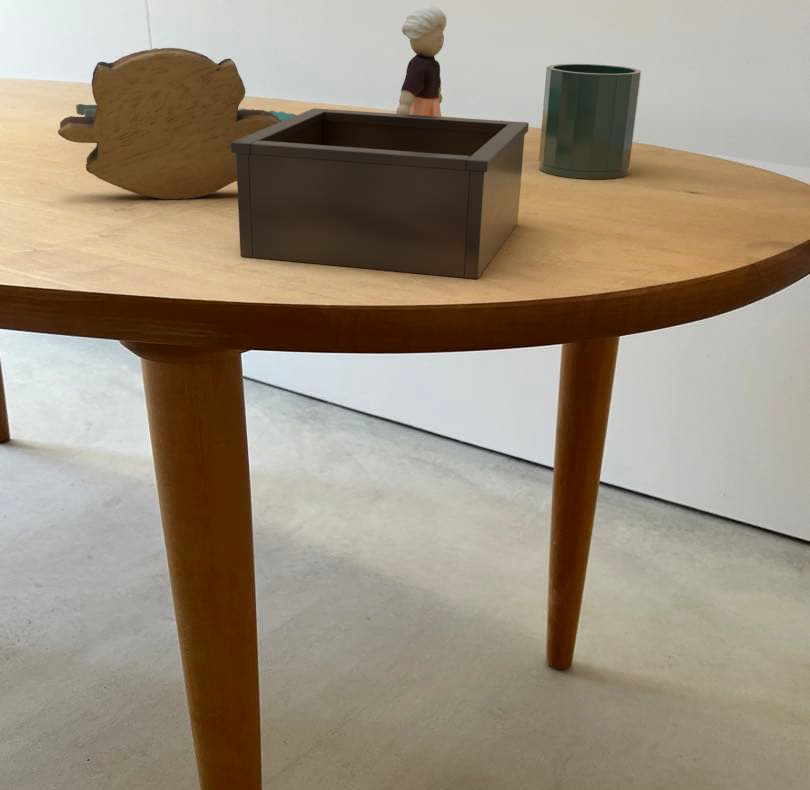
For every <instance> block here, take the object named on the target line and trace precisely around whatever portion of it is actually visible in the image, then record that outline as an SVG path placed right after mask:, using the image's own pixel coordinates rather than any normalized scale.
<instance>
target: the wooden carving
mask: <svg viewBox="0 0 810 790" xmlns="http://www.w3.org/2000/svg"><path fill="white" fill-rule="evenodd" d="M91 92H92V96H93V100H94V102H95V105H97V108H96V111H95V114H94V117H85V116H74V115H70V116H67V117H65V118H63V119H62V120H61V121H60V122H59V127H60V128H59V129H58V130H57V134H58V135H59V136H60V137H61V138H63V139H65V141H69V142H72V143H78V144H79V143H80V144H96V146H95V147H94V148H93V150H92V151H91V152H90V153H89V154H88V155H87V156H86V163H85V170H86V171H87V172H88V173H89V174H91V175H93V176H95V177H96V178H97V179H99V180H101V181H104V182H106V183H108V184H110V185H112V186H115V187H118V188H119V189H123V190H124V191H128V192H130V193H131V192H132V193H134V194H137V195H141V196H143V197H147V198H155V199H159V200H160V199H161V200H188V199H195V198H201V197H204V196H207V195H209V194H213V193H216V192H218V191H220V190H222V189H224V188H226V187H228V186H229V185H231V184H233V183H235V182H237V166H236V153H232V152H231V142H233V141H236V140H238V139H240V138H243V137H245V136H248V135H250V134H253V133H255V132H257V131H260V130H262V129H265V128H267V127H270V126H272V125H274V124H277V123H279V122H282V121H281V120H280V119H279V118H278V117H277V116H275V115H274V114H272V113H270V112H266V111H267V110H265V111H262V110H263V109H254V110H251V109H248V108H247V109H246V108H245V109H246V110H240V111H238V109H239V107H240V104H241V103H242V101H243V100H244V98H245V95H246V92H247V91H246V87H245V84H244V82H243V79H242V78H241V75H240V73H239V70H238V67H237V65H236V63H235V61H233V59H232V58H224V59H222V60H220V62H218V63H216V62H215V61H214V60H212V59H211V58H209V56H206V55H204V54H202V53H199V52H196V51H193V50H189V49H184V48H179V47H161V48H152V49H145V50H140V51H135V52H133V53H130V54H127V55H123V56H121V57H120V58H118V59H117V60H115V61H113V62H106V61H99V62H97V63H96V65H95V67H94V70H93V72H92V78H91Z"/></svg>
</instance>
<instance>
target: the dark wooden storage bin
mask: <svg viewBox="0 0 810 790" xmlns="http://www.w3.org/2000/svg"><path fill="white" fill-rule="evenodd" d="M295 115H296V116H294V117H291V118H289V119H287V120H284V121H282V122H279V123H277V124H274V125H272V126H270V127H267V128H265V129H262V130H260V131H257V132H255V133H253V134H250V135H248V136H245V137H243V138H240V139H238V140H236V141H233V142H231V152H232V153H236V166H237V181H236V186H237V188H236V189H237V206H238V207H237V208H238V230H239V231H238V232H239V233H238V234H239V253H240V257H245V258H255V259H264V260H265V259H266V260H277V261H286V262H296V263H307V264H318V265H327V266H328V265H329V266H337V267H349V268H359V269H369V270H379V271H389V272H401V273H409V274H410V273H411V274H422V275H430V276H431V275H433V276H443V277H451V278H452V277H453V278H462V279H463V278H465V279H474V280H478V279H479V277H480V276H481V275H482V273H483V272H484V271H485V269H486V268H487V267H488V265H489V263H491V261H492V260H493V258H494V257H495V255H496V254H497V253H498V251H499V250H500V249H501V247H502V246H503V244H504V243H505V241H506V240H507V239H508V238H509V236H510V235H511V234H512V232H513V231H514V229H515V228H516V227H517V225H518V223H519V211H520V198H521V185H522V172H523V160H524V159H523V158H524V145H525V135H526V134H527V133H528V132H529V124H530V123H529V122H525V121H509V120H495V119H483V118H482V119H481V118H467V117H466V118H465V117H464V118H463V117H450V116H441V117H437V116H422V115H407V114H397V113H389V112H374V111H362V110H361V111H360V110H346V109H328V108H315V107H314V108H311V109H309V110H306V111H304V112H301V113H299V114H295Z"/></svg>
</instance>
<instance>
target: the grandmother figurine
mask: <svg viewBox="0 0 810 790" xmlns="http://www.w3.org/2000/svg"><path fill="white" fill-rule="evenodd" d="M446 27H447V17H446V13H444V11H442V10H441V9H440V8H439V7H437V6H434V5H432V4H423V5H421V6H420V7H418V8H416V9H415V10H414V11H412V12H411V13H410V14H408V15H407V16H406V17H405V21H404V24H403V25H402V26H401V32H402V34H403V35H404V36H406V37H407V38H408V39H409V45H410V48H411V49H412V51H413V53H415V55H414V56H413V57H412V58H411V59H410V60H409V61H408V64H407V67H406V73H405V78H404V81H403V83H402V86H401V88H400V96H399V100H398V102H399V105H398V107H397V108H396V114H407V115H422V116H437V117H442V111H441V103H443V94H442V93H441V92H442V79H441V65H440V62H439V61H438V60H436V58H435V56H437V55H438V54H439V53H440V51H441V50H442V49H443V46H444V44H445V43H444V42H445V36H444V31H445V29H446Z"/></svg>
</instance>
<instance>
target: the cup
mask: <svg viewBox="0 0 810 790" xmlns="http://www.w3.org/2000/svg"><path fill="white" fill-rule="evenodd" d="M641 78H642V70H641V69H637V68H635V67H628V66H623V65H610V64H595V63H559V64H551V65H548V66H547V67H546V71H545V80H544V81H545V82H544V92H543V106H542V107H543V108H542V117H541V128H540V129H541V130H540V133H541V134H540V144H539V154H538V157H539V158H538V162H539V163H538V169H539V170H540V171H542V172H544V173H546V174H548V175H553V176H558V177H562V178H570V179H583V180H609V179H611V180H612V179H618V178H623V177H626V176H628V175H629V174H630V166H631V163H632V155H633V146H634V137H635V130H636V129H635V128H636V121H637V113H638V103H639V97H640V96H639V95H640V86H641V80H642V79H641Z"/></svg>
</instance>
